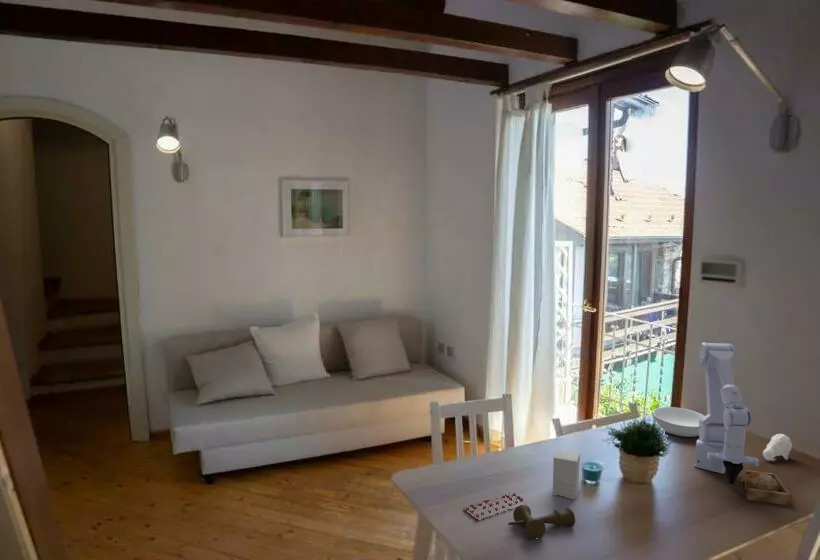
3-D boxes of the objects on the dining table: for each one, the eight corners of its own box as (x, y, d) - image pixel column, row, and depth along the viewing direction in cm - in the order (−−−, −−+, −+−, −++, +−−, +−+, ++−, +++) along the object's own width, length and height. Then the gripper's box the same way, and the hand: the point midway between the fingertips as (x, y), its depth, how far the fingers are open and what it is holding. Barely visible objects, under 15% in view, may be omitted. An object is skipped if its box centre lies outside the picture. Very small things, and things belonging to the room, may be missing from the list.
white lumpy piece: (794, 435, 203) (775, 445, 197) (793, 457, 204) (774, 467, 199) (776, 429, 208) (757, 438, 203) (775, 450, 210) (756, 460, 204)
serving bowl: (659, 440, 219) (660, 423, 218) (646, 420, 239) (647, 405, 238) (716, 444, 216) (717, 427, 215) (697, 424, 236) (699, 408, 235)
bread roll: (757, 509, 176) (770, 493, 172) (732, 483, 184) (743, 467, 179) (778, 503, 179) (791, 487, 175) (752, 477, 187) (764, 462, 183)
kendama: (580, 535, 155) (514, 543, 151) (562, 518, 165) (500, 525, 160) (581, 515, 155) (515, 522, 150) (563, 498, 164) (501, 505, 159)
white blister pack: (527, 505, 171) (527, 499, 171) (478, 522, 161) (478, 516, 161) (511, 494, 177) (511, 489, 177) (463, 511, 167) (463, 505, 167)
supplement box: (579, 489, 180) (581, 452, 178) (575, 500, 173) (577, 461, 172) (555, 484, 183) (557, 448, 181) (551, 495, 176) (553, 457, 175)
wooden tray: (747, 499, 174) (748, 489, 174) (734, 478, 188) (735, 468, 188) (790, 505, 171) (791, 495, 171) (774, 483, 185) (775, 473, 185)
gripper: (712, 445, 179) (709, 485, 180) (763, 451, 175) (759, 492, 176) (707, 437, 185) (704, 475, 187) (756, 442, 181) (752, 481, 183)
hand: (730, 483), depth 182 cm, fingers closed
